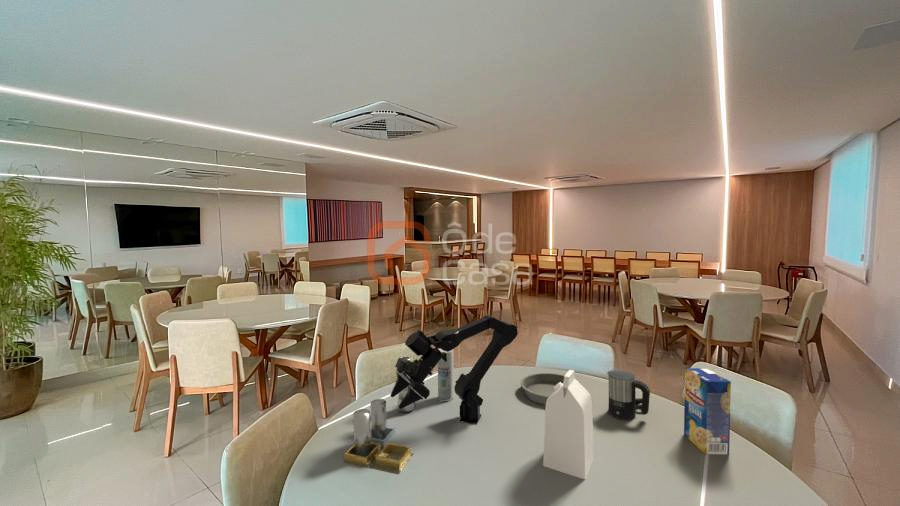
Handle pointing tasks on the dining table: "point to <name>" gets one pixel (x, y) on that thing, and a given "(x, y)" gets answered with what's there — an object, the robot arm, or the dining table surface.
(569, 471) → the milk
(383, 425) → the billet
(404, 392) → the plastic bottle
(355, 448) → the billet twin
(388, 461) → the gold holder tray
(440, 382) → the spray can
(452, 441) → the dining table surface
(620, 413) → the milk frother
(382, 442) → the grey square dish
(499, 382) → the dining table surface
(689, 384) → the blue cardboard box
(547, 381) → the cake pan
